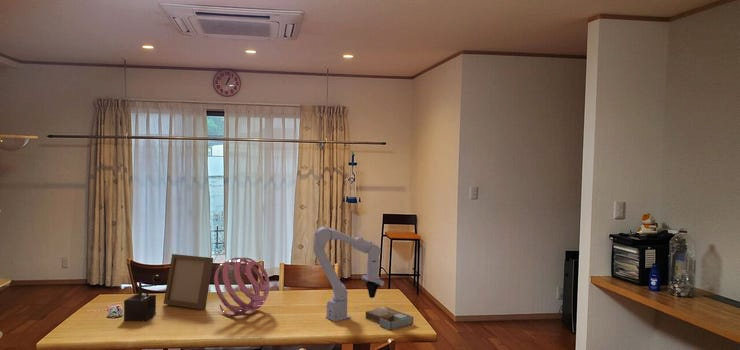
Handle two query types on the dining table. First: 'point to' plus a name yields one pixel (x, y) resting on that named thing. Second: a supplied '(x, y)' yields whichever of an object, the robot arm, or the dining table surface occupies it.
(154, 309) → the manual coffee grinder
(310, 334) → the dining table surface
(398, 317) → the sage tile
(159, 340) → the dining table surface
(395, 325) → the tray
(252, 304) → the spiral basket
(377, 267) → the robot arm
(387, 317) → the board
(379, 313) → the beige block
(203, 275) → the photo frame
